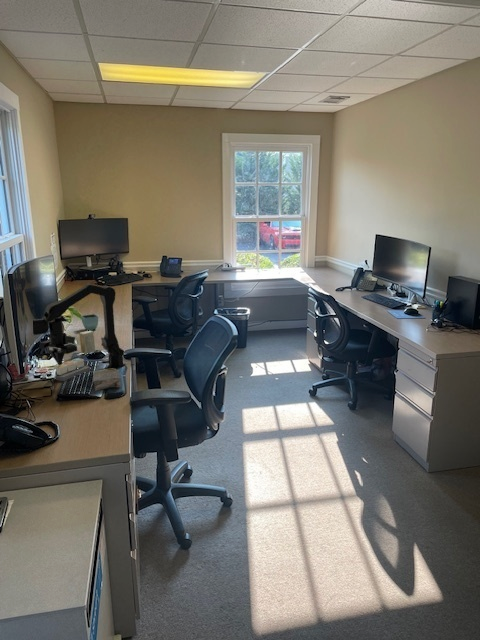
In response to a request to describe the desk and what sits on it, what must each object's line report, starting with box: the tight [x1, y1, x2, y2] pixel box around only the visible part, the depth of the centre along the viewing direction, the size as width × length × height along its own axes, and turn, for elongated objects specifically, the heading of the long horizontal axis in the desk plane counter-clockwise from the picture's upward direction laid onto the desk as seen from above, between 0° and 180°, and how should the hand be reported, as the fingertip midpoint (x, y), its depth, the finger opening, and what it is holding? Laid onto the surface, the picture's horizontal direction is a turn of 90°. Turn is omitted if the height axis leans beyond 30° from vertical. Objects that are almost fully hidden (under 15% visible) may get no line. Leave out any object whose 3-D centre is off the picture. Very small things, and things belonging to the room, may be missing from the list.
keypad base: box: [55, 365, 91, 382], centre depth 216 cm, size 10×16×2 cm, turn 151°
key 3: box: [53, 363, 67, 375], centre depth 211 cm, size 4×4×4 cm
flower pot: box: [80, 313, 99, 331], centre depth 298 cm, size 9×9×9 cm
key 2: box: [62, 360, 76, 372], centre depth 215 cm, size 4×4×4 cm
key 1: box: [70, 357, 85, 368], centre depth 219 cm, size 4×4×4 cm
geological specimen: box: [92, 367, 122, 392], centre depth 202 cm, size 11×6×15 cm
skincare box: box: [79, 330, 96, 354], centre depth 245 cm, size 6×4×12 cm
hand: (60, 364), depth 210 cm, fingers closed
